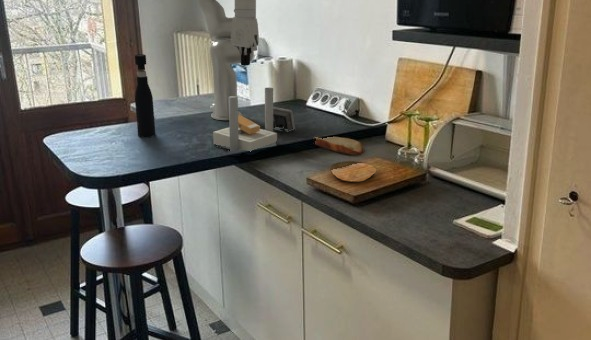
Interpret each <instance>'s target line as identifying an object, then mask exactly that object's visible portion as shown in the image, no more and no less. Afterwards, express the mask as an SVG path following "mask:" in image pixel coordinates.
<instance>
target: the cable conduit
mask: <svg viewBox="0 0 591 340" xmlns="http://www.w3.org/2000/svg"><path fill="white" fill-rule="evenodd" d="M238 100H239V99H238V96H237V97H236V96H230V97H229V120H228V122H229V123H228V124H229V129H230V151H238V150H239V134H238V112H239V101H238Z"/></svg>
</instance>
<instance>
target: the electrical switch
mask: <svg viewBox="0 0 591 340" xmlns="http://www.w3.org/2000/svg"><path fill="white" fill-rule="evenodd" d="M293 114H294V113H293V111H292V110H291V109H287V108H282V107H277V106H273V128H275V127H279V128H283V127H284V129H288V131H289V130H291V129H295V130H296V125H295V120H294V115H293Z"/></svg>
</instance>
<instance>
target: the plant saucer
mask: <svg viewBox="0 0 591 340" xmlns="http://www.w3.org/2000/svg"><path fill="white" fill-rule="evenodd" d="M357 163H365V162H362V161H357V160H354V161H353V160H345V161H344V160H343V161H338V162H335V163H332V164H331V165H330V166H329V168H328V169H329V172H330V171H331V170H333V169H337V168H342V167H346V166H349V165H352V164H357Z"/></svg>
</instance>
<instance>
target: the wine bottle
mask: <svg viewBox="0 0 591 340" xmlns="http://www.w3.org/2000/svg"><path fill="white" fill-rule="evenodd" d="M134 62H135V63H134V64H135V65H136V66H137V72H136V75H137V76H136V84H137V85H136V88H135V91H134V92H135V93H134V104H135V115H136V125H137V128H136V129H137V136H138V137H139V138H151V137H155V136H156V123H155V121H156V120H155V111H154V99H153V93H152V90H151V88H150V85H149V81H148V76H147V71H146V65H147V54H142V53H139V54H135V55H134Z"/></svg>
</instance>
